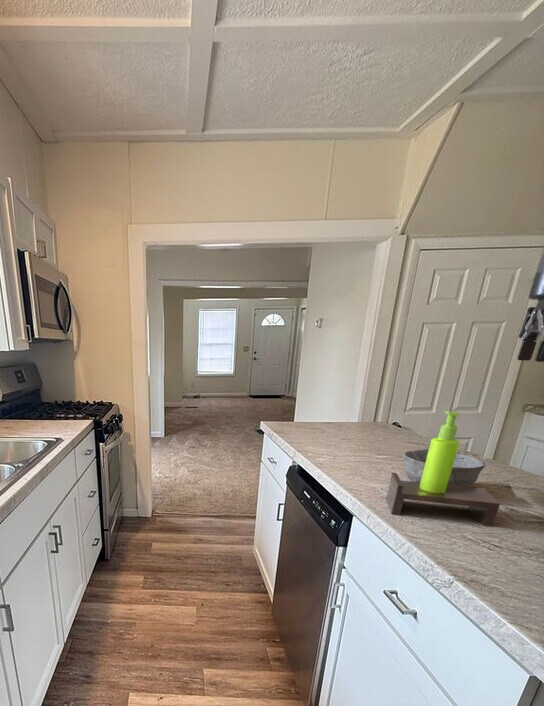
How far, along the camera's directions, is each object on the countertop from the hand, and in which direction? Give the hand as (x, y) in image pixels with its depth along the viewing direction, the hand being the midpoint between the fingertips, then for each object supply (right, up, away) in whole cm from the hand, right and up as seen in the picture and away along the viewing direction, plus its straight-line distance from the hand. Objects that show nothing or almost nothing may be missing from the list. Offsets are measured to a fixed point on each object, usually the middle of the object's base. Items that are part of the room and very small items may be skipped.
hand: (532, 361), depth 82 cm
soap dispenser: (-5, -25, +24) cm, 35 cm away
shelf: (-3, -31, +25) cm, 40 cm away
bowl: (+8, -24, +41) cm, 49 cm away
